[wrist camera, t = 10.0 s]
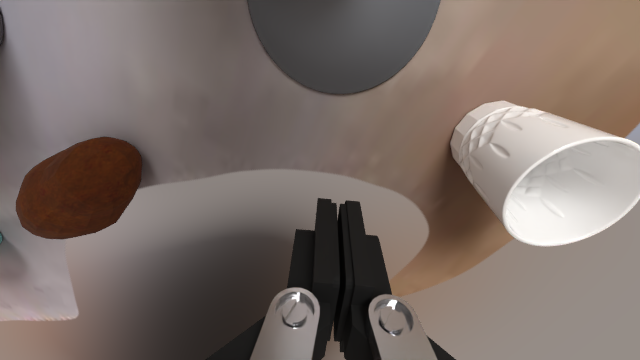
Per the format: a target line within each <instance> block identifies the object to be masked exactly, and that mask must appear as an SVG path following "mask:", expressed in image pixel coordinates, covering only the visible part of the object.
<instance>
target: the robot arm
mask: <svg viewBox="0 0 640 360" xmlns="http://www.w3.org/2000/svg"><path fill="white" fill-rule="evenodd" d="M333 320H334V341H338V342H340V352H344V357H345V359H346V360H456V359H454V358H453V357H452V356H451V355H449V354H448V353H447V352H446V351H445V350H443V349H442V348H441V347H440V346H439V345H437V344H436V343H435V342H434V341H433V340H431V339H430V338H429V337H428V336H427V335H426V333H425V331H424V329H423V327H422V325H421V322H420V320H419V318H418V316H417V314H416V312H415V311H414V309H413V308H412V307H411V306H410V305H409V304H408V303H407V302H406V301H405V300H403V299H402V298H400V297H397V296H394V295H392V293H391V288H390V284H389V280H388V276H387V272H386V268H385V263H384V259H383V255H382V250H381V246H380V242H379V239H378V237H377V236H373V235H366V234H365V229H364V223H363V217H362V211H361V206H360V202H357V201H346V202H345V204H340V207H339V214H338V221H337V205H336V203H331V199H321V198H318V203H317V213H316V223H315V231H311V230H297V229H296V233H295V240H294V246H293V253H292V260H291V266H290V273H289V279H288V286H287V289H285V290H283V291H281V292H279V293H278V294H277V295H276V296H275V297H274V299H273V301H272V302H271V304H270V307H269V310H268V312H267V315H266V316H265V317H263V318H262V319H261V320H259V321H258V322H257V323H255V324H254V325H253V326H251V327H250V328H248V329H247V330H246V331H244V332H243V333H242V334H240V335H239V336H237V337H236V338H235V339H233V340H232V341H231V342H229V343H228V344H226V345H225V346H224V347H222V348H221V349H220V350H218V351H217V352H215V353H214V354H213V355H211V356H210V357H209V358H207V359H206V360H321V359H322V358H323V357H324V355H325V350H326V344H327V341H330V336H331V331H332V326H333Z"/></svg>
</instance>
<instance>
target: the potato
mask: <svg viewBox="0 0 640 360" xmlns="http://www.w3.org/2000/svg"><path fill="white" fill-rule="evenodd" d="M141 171H142V160H141V155H140V154H139V152H138V151H137V149H136V148H135V147H134V146H132V145H131V144H129V143H127V142H126V141H123V140H120V139H116V138H111V137H100V138H94V139H90V140H86V141H83V142H80V143H77V144H75V145H73V146H71V147H69V148H68V149H66V150H63V151H61V152H59V153H57V154H55V155H53V156H51V157H49V158H48V159H46V160H44V161H42V162H41V163H39V164H38V165H36V166H35V167H33V168H32V169H31V170H30V171H29V172H28V173H27V174H26V176H25V178H24V180H23V182H22V185H21V188H20V191H19V194H18V197H17V200H16V212H17V215H18V217H19V220H20V222H21V225H22V227H24V228H25V229H26V230H28V231H29V232H31V233H32V234H34V235H37V236H40V237H43V238H47V239H67V238H73V237H78V236H82V235H86V234H91V233H96V232H98V231H100V230H102V229H104V228H106V227H108V226H110V225H112V224H114V223H116V222H117V220H118V219H119V218H120V216H121V215H122V213H123V212H124V210H125V209H126V207H127V206H128V205H129V203H130V202H131V200H132V199H133V197H134V195H135V193H136V191H137V188H138V186H139V184H140V182H141Z"/></svg>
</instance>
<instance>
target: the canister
mask: <svg viewBox="0 0 640 360" xmlns="http://www.w3.org/2000/svg"><path fill="white" fill-rule="evenodd" d="M2 37H3V23H2V17H1V14H0V45H1V42H2Z"/></svg>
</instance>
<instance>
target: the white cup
mask: <svg viewBox="0 0 640 360" xmlns="http://www.w3.org/2000/svg"><path fill="white" fill-rule="evenodd" d="M450 145H451V150H452V155H453V158H454V159H455V161H456V162H457V163H458V164H459V166H460V167H461V168H462V169H463V171H464V173H465V175H466V177H467V178H468V180H469V181H470V182H471V184H472V185H473V187H474V188H475V190H476V191H477V192H478V193H479V195H480V196H481V197H482V199H483V200H484V201H485V202H486V204H487V205H488V206H489V208H490V209H491V210H492V211H493V213H494V214H495V215H496V217H497V218H498V219H499V221H500V222H501V223H502V225H503V226H504V227H505V228H506V230H507V231H508V232H509V234H510V235H512V236H513V237H514V238H515V239H517V240H519V241H521V242H523V243H526V244H530V245H535V246H558V245H565V244H569V243H573V242H577V241H579V240H583V239H585V238H588V237H590V236H593V235H595V234H597V233H599V232H601V231H603V230H604V229H606V228H608V227H609V226H611V225H613V224H614V223H615V222H617V221H618V220H619V219H621V218H622V217H623V216H624V215H626V214H627V213H628V212H629V211H630V210H631V209H632V207H634V205H635V204H636V203H637V202H638V201H639V199H640V146H639V145H638V144H636V143H635V142H633V141H630V140H628V139H625V138H622V137H619V136H616V135H613V134H610V133H607V132H604V131H601V130H598V129H595V128H592V127H589V126H586V125H583V124H580V123H577V122H574V121H571V120H568V119H565V118H562V117H559V116H556V115H553V114H551V113H547V112H543V111H540V110H537V109H534V108H526V107H522V106H520V105H516V104H513V103H510V102H507V101H497V102H490V103H485V104H483V105H481V106H479V107H477V108H476V109H474V110H472V111H471V112H469V113H467V114H466V115H465V117H464V118H463V119H462V120H461V121H460V123H459V124H458V125H457V126H456V127H455V130H454V133H453V136H452V139H451V142H450Z"/></svg>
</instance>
